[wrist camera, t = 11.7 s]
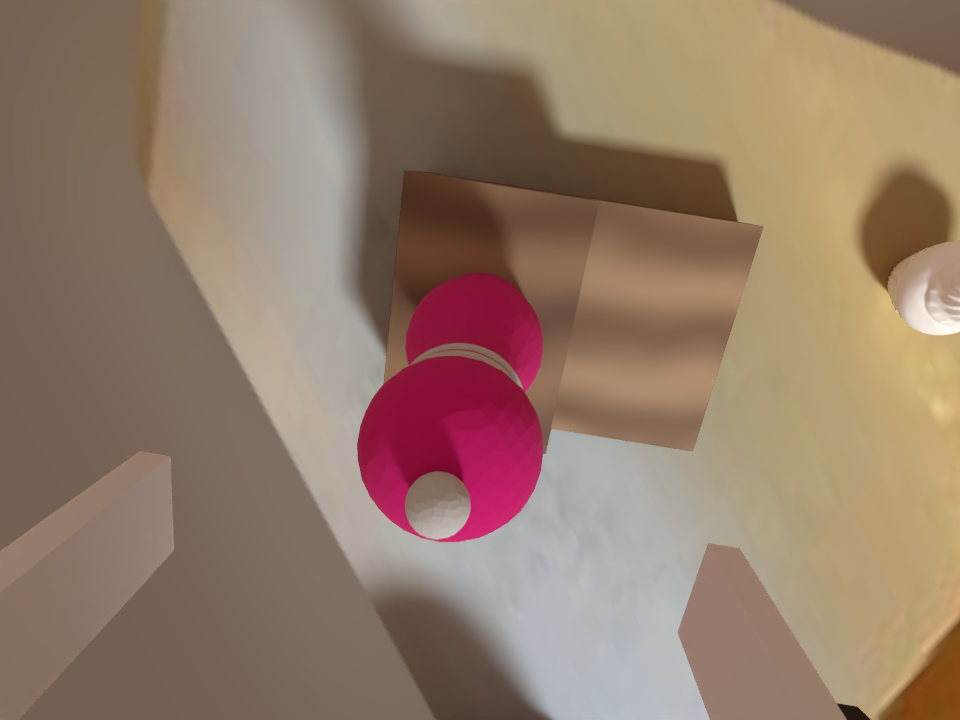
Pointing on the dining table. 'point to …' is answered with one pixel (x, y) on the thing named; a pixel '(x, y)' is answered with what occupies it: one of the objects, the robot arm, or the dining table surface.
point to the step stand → (586, 297)
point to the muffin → (929, 289)
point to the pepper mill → (458, 414)
